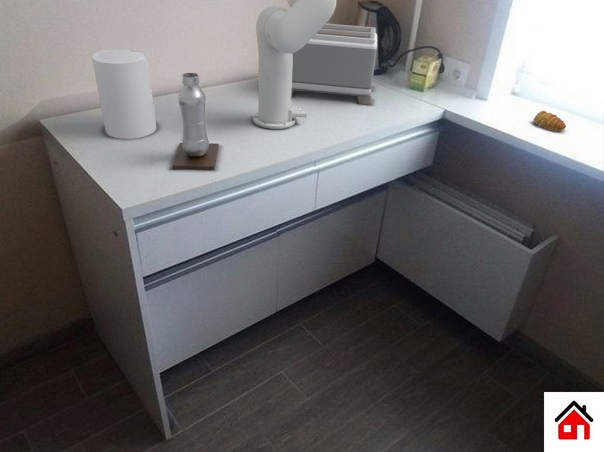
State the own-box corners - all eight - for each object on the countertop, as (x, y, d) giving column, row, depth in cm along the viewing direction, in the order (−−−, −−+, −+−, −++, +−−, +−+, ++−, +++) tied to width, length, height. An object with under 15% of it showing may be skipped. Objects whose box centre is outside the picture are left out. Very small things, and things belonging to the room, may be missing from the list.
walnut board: (218, 146, 131) (218, 143, 130) (214, 170, 120) (213, 166, 120) (180, 146, 130) (180, 142, 130) (172, 169, 120) (172, 165, 119)
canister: (157, 136, 134) (148, 62, 123) (104, 140, 131) (90, 64, 119) (155, 117, 145) (146, 47, 134) (106, 120, 141) (93, 49, 130)
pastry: (569, 130, 153) (573, 118, 151) (555, 134, 150) (559, 122, 148) (543, 119, 160) (547, 108, 157) (529, 123, 157) (533, 111, 154)
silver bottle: (215, 152, 126) (210, 74, 115) (196, 162, 121) (190, 81, 110) (196, 146, 128) (190, 68, 117) (177, 155, 124) (169, 75, 112)
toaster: (278, 77, 181) (280, 18, 170) (372, 86, 178) (380, 27, 167) (269, 95, 165) (269, 31, 154) (371, 105, 162) (380, 40, 151)
